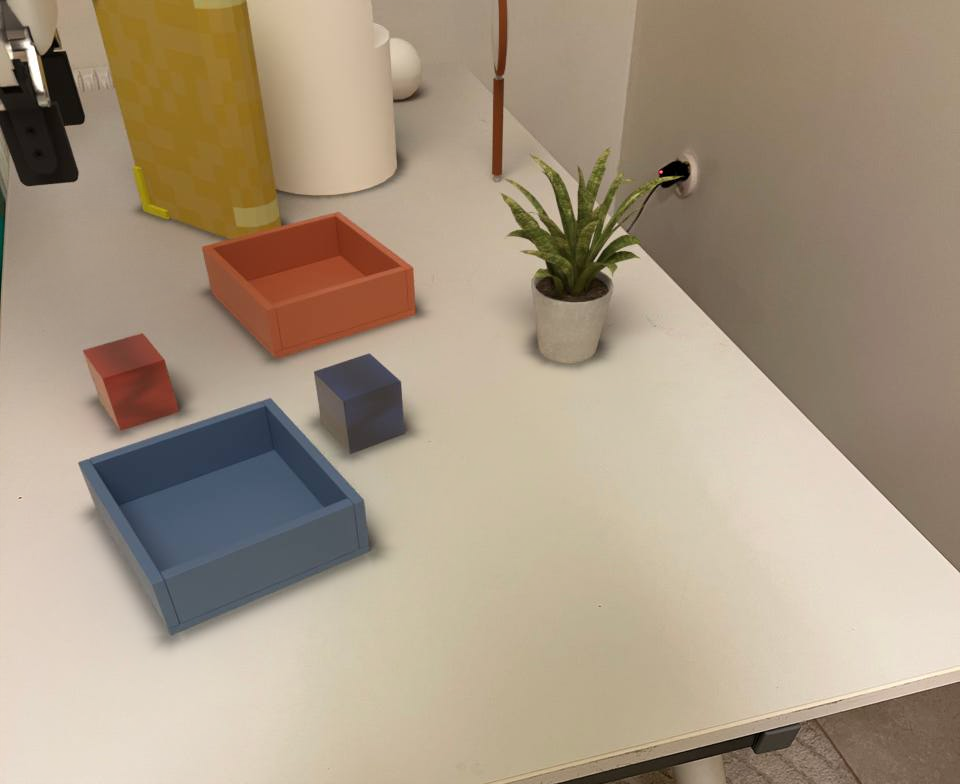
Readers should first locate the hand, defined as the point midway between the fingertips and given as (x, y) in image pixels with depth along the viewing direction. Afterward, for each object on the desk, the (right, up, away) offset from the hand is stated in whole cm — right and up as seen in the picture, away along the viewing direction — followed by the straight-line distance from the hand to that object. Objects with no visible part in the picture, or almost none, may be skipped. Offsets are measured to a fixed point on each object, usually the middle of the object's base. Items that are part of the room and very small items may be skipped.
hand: (56, 151), depth 55 cm
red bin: (+10, +2, +32) cm, 33 cm away
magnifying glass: (+28, +25, +53) cm, 64 cm away
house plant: (+35, -3, +27) cm, 45 cm away
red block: (-2, -11, +20) cm, 23 cm away
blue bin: (+8, -22, +9) cm, 26 cm away
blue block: (+16, -13, +18) cm, 28 cm away
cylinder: (+7, +28, +55) cm, 62 cm away
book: (-3, +16, +45) cm, 48 cm away
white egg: (+13, +47, +72) cm, 87 cm away
